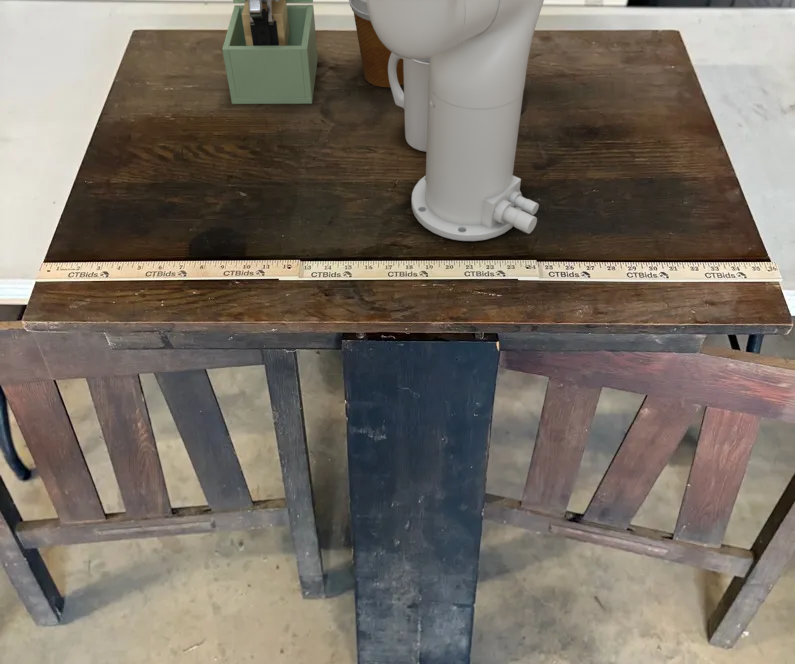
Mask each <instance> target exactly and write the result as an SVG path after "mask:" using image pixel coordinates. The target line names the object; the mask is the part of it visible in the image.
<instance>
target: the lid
mask: <svg viewBox="0 0 795 664" xmlns="http://www.w3.org/2000/svg"><path fill="white" fill-rule="evenodd" d="M232 2H233V4H245V1H244V0H232ZM313 3H314V0H286V4H313Z"/></svg>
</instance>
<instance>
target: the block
mask: <svg viewBox="0 0 795 664" xmlns="http://www.w3.org/2000/svg"><path fill="white" fill-rule="evenodd" d="M243 4H244V8H243V12H242V20H243V26H244V33H245V39H246V46H253V41H252V34H251V27H250V14H249V4H248V0H247V2H245V3H243ZM287 5H288V3H286V0H280V1H279V2H276V1H275V0H272V6H273V19H274V21H276V24H277V32H278V41H279V46H287V44H288V38H289V33H290V31H289V22H288V13H287ZM262 7H263V9H266V11H267V3H262Z"/></svg>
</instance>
